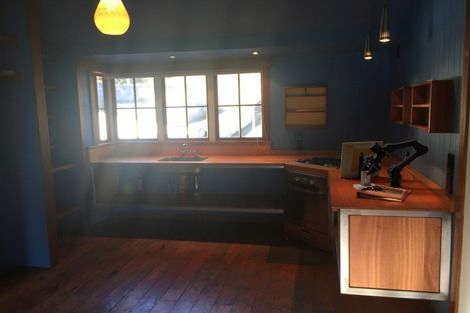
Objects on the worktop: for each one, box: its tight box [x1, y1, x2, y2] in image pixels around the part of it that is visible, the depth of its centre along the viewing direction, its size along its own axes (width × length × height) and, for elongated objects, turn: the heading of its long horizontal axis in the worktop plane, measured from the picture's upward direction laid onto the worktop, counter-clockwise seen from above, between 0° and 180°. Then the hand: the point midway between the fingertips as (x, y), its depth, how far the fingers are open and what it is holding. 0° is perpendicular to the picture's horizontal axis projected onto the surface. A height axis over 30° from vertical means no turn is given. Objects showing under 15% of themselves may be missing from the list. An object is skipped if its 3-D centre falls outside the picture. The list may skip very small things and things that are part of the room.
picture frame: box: [339, 140, 384, 180], centre depth 305 cm, size 33×10×30 cm, turn 92°
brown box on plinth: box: [359, 171, 372, 186], centre depth 265 cm, size 6×6×10 cm
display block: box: [353, 183, 375, 191], centre depth 265 cm, size 14×10×2 cm
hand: (363, 174), depth 264 cm, fingers open, 9 cm apart
